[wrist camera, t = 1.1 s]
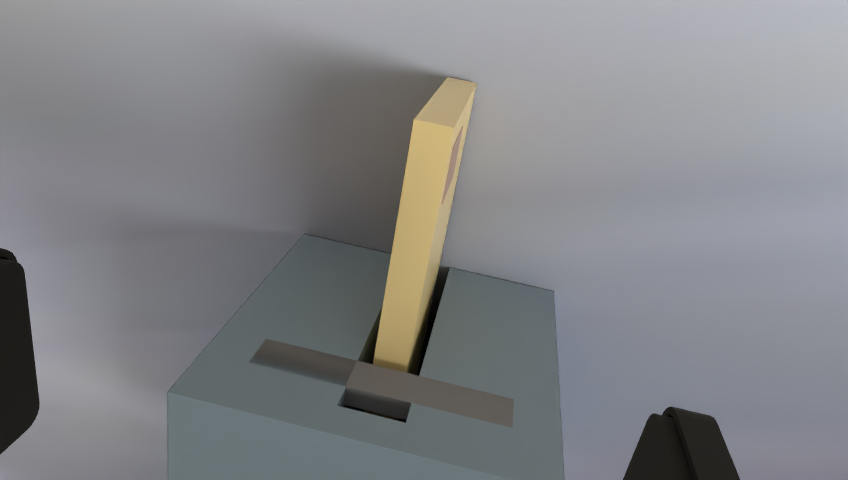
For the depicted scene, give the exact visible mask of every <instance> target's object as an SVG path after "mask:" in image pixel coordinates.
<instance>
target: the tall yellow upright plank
mask: <svg viewBox="0 0 848 480" xmlns="http://www.w3.org/2000/svg"><path fill="white" fill-rule="evenodd" d="M476 85H477V83H474V82H469V81H464V80H459V79H454V78H449V77H447V78H446V80H445V81H444V82H443V83H442V85H441V86H440V87H439V88H438V90H437V91H436V92H435V93H434V95H433V96H432V97H431V98H430V100H429V101H428V102H427V103H426V105H425V106H424V107H423V108H422V110H421V111H420V112H419V113H418V115H417V116H416V117H415V118H414V122H413V128H412V133H411V139H410V145H409V151H408V157H407V163H406V169H405V175H404V181H403V187H402V193H401V199H400V205H399V211H398V217H397V223H396V229H395V235H394V241H393V247H392V253H391V259H390V265H389V271H388V277H387V283H386V289H385V295H384V301H383V307H382V313H381V319H380V325H379V330H378V336H377V342H376V348H375V354H374V360H373V365H377V366H381V367H385V368H389V369H393V370H397V371H401V372H405V373H409V374H414V375H417V372H418V367H419V362H420V357H421V353H422V348H423V343H424V338H425V333H426V328H427V323H428V318H429V314H430V309H431V304H432V299H433V294H434V289H435V284H436V280H437V275H438V270H439V265H440V260H441V255H442V250H443V246H444V241H445V236H446V231H447V226H448V221H449V216H450V211H451V207H452V202H453V197H454V192H455V187H456V182H457V177H458V173H459V168H460V163H461V158H462V153H463V148H464V143H465V139H466V134H467V129H468V124H469V119H470V114H471V109H472V104H473V100H474V95H475V90H476ZM365 413H369V414H373V415H376V416H380V417H384V418H388V419H392V420H396V421H400V422H403V421H404V419H400V418H396V417H392V416H388V415H384V414H380V413H376V412H372V411H368V410H365Z"/></svg>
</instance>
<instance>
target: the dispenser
mask: <svg viewBox="0 0 848 480" xmlns="http://www.w3.org/2000/svg"><path fill="white" fill-rule="evenodd" d="M390 259H391V254H389V253H384V252H380V251H376V250H371V249H367V248H363V247H358V246H354V245H350V244H345V243H341V242H337V241H332V240H328V239H324V238H319V237H315V236H310V235H306V234H304V235H303V236H302V237H301V238H300V239H299V241H298V242H297V243H296V244H295V245H294V246H293V248H292V249H291V250H290V251H289V252H288V253H287V254H286V256H285V257H284V258H283V259H282V260H281V261H280V263H279V264H278V265H277V266H276V267H275V268H274V269H273V271H272V272H271V273H270V274H269V275H268V276H267V278H266V279H265V280H264V281H263V282H262V283H261V284H260V286H259V287H258V288H257V289H256V290H255V291H254V293H253V294H252V295H251V296H250V297H249V298H248V300H247V301H246V302H245V303H244V304H243V305H242V306H241V308H240V309H239V310H238V311H237V312H236V313H235V315H234V316H233V317H232V318H231V319H230V320H229V321H228V323H227V324H226V325H225V326H224V327H223V328H222V330H221V331H220V332H219V333H218V334H217V335H216V336H215V338H214V339H213V340H212V341H211V342H210V343H209V345H208V346H207V347H206V348H205V349H204V350H203V351H202V353H201V354H200V355H199V356H198V357H197V358H196V360H195V361H194V362H193V363H192V364H191V365H190V367H189V368H188V369H187V370H186V371H185V372H184V373H183V375H182V376H181V377H180V378H179V379H178V380H177V382H176V383H175V384H174V385H173V386H172V387H171V388H170V390H169V391H168V392H167V439H168V480H564V464H563V446H562V429H561V411H560V394H559V376H558V359H557V341H556V324H555V306H554V291H550V290H546V289H541V288H537V287H533V286H528V285H524V284H519V283H515V282H511V281H506V280H502V279H498V278H493V277H489V276H485V275H480V274H476V273H472V272H467V271H463V270H459V269H454V268H450V269H449V273H448V276H447V280H446V283H445V287H444V290H443V294H442V297H441V301H440V304H439V308H438V311H437V315H436V318H435V322H434V325H433V329H432V333H431V336H430V340H429V343H428V347H427V350H426V354H425V357H424V361H423V364H422V368H421V371H420V375H419V376H418V375H414V374H409V373H405V372H401V371H397V370H393V369H389V368H385V367H381V366H377V365H373V360H374V354H375V348H376V342H377V336H378V330H379V325H380V319H381V313H382V307H383V301H384V295H385V289H386V283H387V277H388V271H389V265H390ZM365 410H368V411H372V412H376V413H380V414H384V415H388V416H392V417H396V418H400V419H404V420H407V421H406V423H404V422H400V421H396V420H392V419H388V418H384V417H380V416H376V415H373V414H369V413H365Z"/></svg>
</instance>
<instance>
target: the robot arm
mask: <svg viewBox="0 0 848 480" xmlns="http://www.w3.org/2000/svg"><path fill="white" fill-rule="evenodd" d="M38 410H39V395H38V386H37V378H36V369H35V360H34V351H33V342H32V334H31V325H30V316H29V307H28V298H27V290H26V281H25V273H24V269H23V267H22V266H21V264H19V263H17V260H16V257H15V256H14V254H13V253H12V252H10V251H8V250H6V249H1V248H0V454H1V453H2V452H3V451H5V450H6V449H7V448H8V447H9V446H10V445H11V444H12V443H13V442H14V441H15V440H16V439H18V438H19V437H20V436H21V435H22V434H23V433H24V432H25V431H26V430H27V429H28V428H29V427H30V426H31V425H32V423H33V422H34V420H35V418H36V416H37V414H38ZM623 480H740V478H739V476H738V473H737V471H736V468H735V466H734V463H733V461H732V458H731V456H730V454H729V451H728V449H727V446H726V444H725V441H724V439H723V436H722V434H721V431H720V429H719V426H718V424H717V422H716V420H715V419H714V418H713V417H711V416H709V415H705V414H701V413H696V412H692V411H688V410H684V409H679V408H675V407H668V408H667V409H666V410H665V411H664V412H663V414H662V415H659V414H651V416H650V417H649V418H648V420H647V422H646V425H645V427H644V430H643V432H642V435H641V437H640V439H639V442H638V444H637V447H636V449H635V452H634V454H633V456H632V459H631V461H630V464H629V466H628V469H627V471H626V473H625V476H624V478H623Z"/></svg>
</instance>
